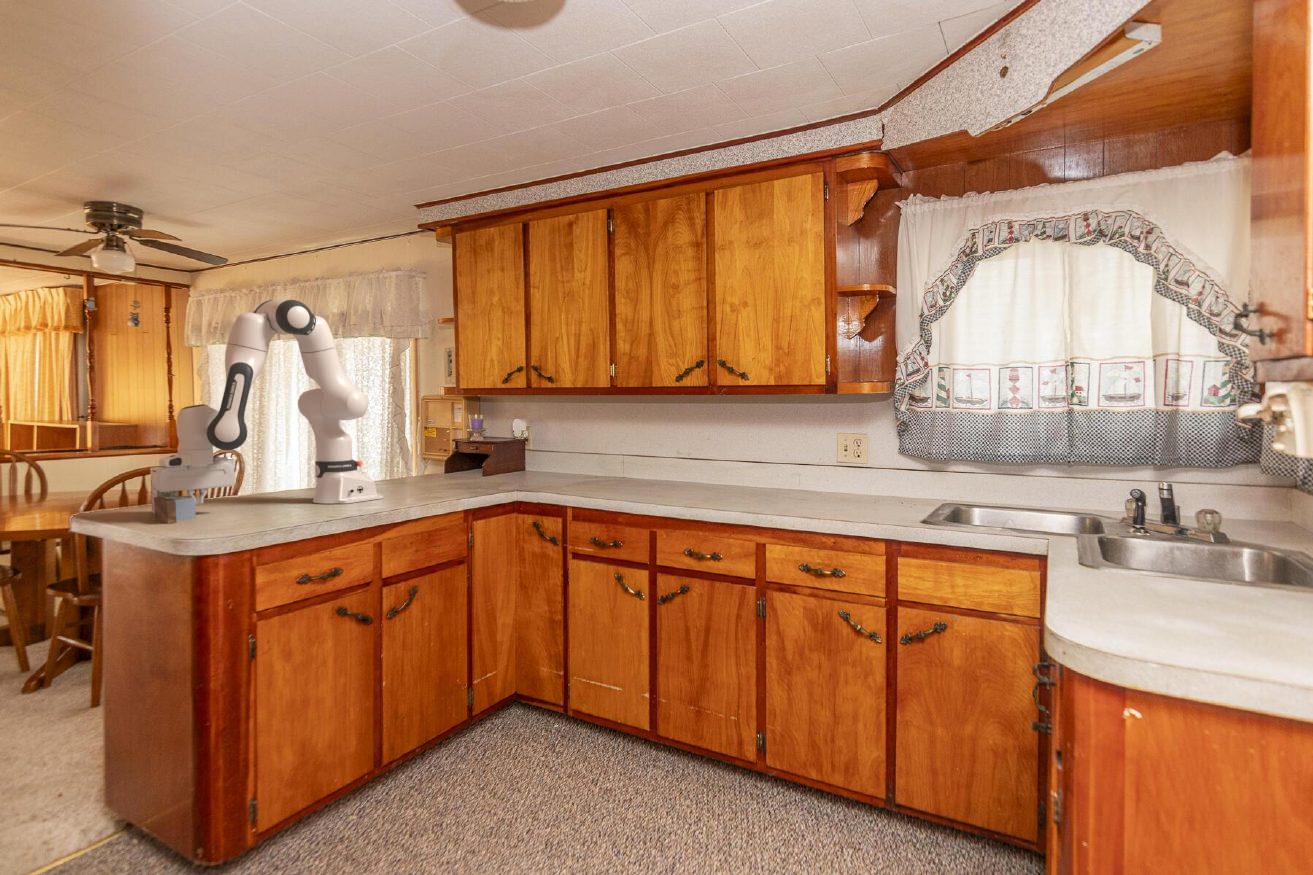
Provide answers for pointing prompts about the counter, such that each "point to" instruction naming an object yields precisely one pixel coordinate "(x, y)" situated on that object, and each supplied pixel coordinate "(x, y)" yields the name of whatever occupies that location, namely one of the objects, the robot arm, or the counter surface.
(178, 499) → the blue block
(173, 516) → the walnut board
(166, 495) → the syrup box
